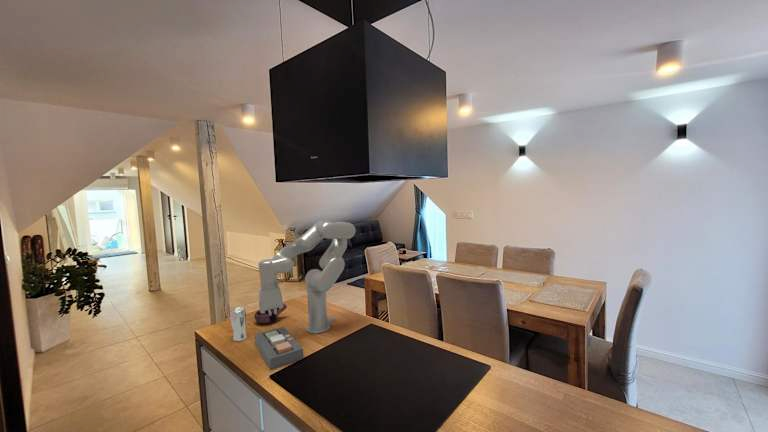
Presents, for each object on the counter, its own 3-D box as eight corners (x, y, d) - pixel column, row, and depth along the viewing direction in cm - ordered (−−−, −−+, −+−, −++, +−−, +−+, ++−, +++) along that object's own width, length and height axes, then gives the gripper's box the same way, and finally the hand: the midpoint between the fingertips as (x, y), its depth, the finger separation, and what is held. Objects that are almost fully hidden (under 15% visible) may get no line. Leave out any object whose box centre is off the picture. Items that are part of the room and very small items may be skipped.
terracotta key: (287, 347, 141) (287, 341, 141) (291, 352, 137) (291, 346, 136) (275, 351, 138) (274, 345, 138) (278, 357, 133) (278, 350, 133)
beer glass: (241, 342, 154) (239, 312, 153) (229, 341, 155) (226, 311, 154) (250, 335, 161) (248, 307, 159) (238, 334, 162) (236, 306, 161)
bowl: (265, 328, 169) (264, 314, 168) (250, 323, 175) (249, 309, 175) (288, 317, 182) (288, 304, 182) (274, 313, 189) (273, 300, 188)
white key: (281, 340, 149) (281, 333, 148) (285, 344, 144) (285, 338, 144) (269, 343, 145) (269, 337, 145) (273, 348, 141) (272, 342, 141)
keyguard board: (284, 334, 160) (283, 326, 160) (303, 358, 137) (302, 348, 137) (255, 343, 153) (254, 333, 152) (270, 369, 130) (269, 358, 129)
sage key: (276, 336, 156) (276, 330, 156) (280, 340, 152) (279, 334, 151) (265, 339, 153) (264, 333, 153) (268, 343, 148) (267, 337, 148)
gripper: (282, 280, 157) (286, 315, 159) (251, 287, 149) (255, 324, 151) (287, 283, 151) (291, 320, 153) (254, 291, 143) (258, 329, 145)
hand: (273, 322), depth 152 cm, fingers closed
